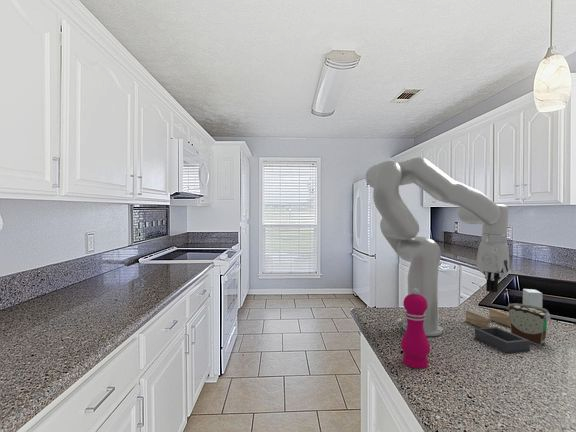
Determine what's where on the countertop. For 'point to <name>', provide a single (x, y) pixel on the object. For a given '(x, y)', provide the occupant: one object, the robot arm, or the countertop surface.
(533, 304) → the skincare box
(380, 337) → the countertop surface
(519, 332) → the food container
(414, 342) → the pepper mill
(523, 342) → the tray
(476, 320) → the wooden channel
